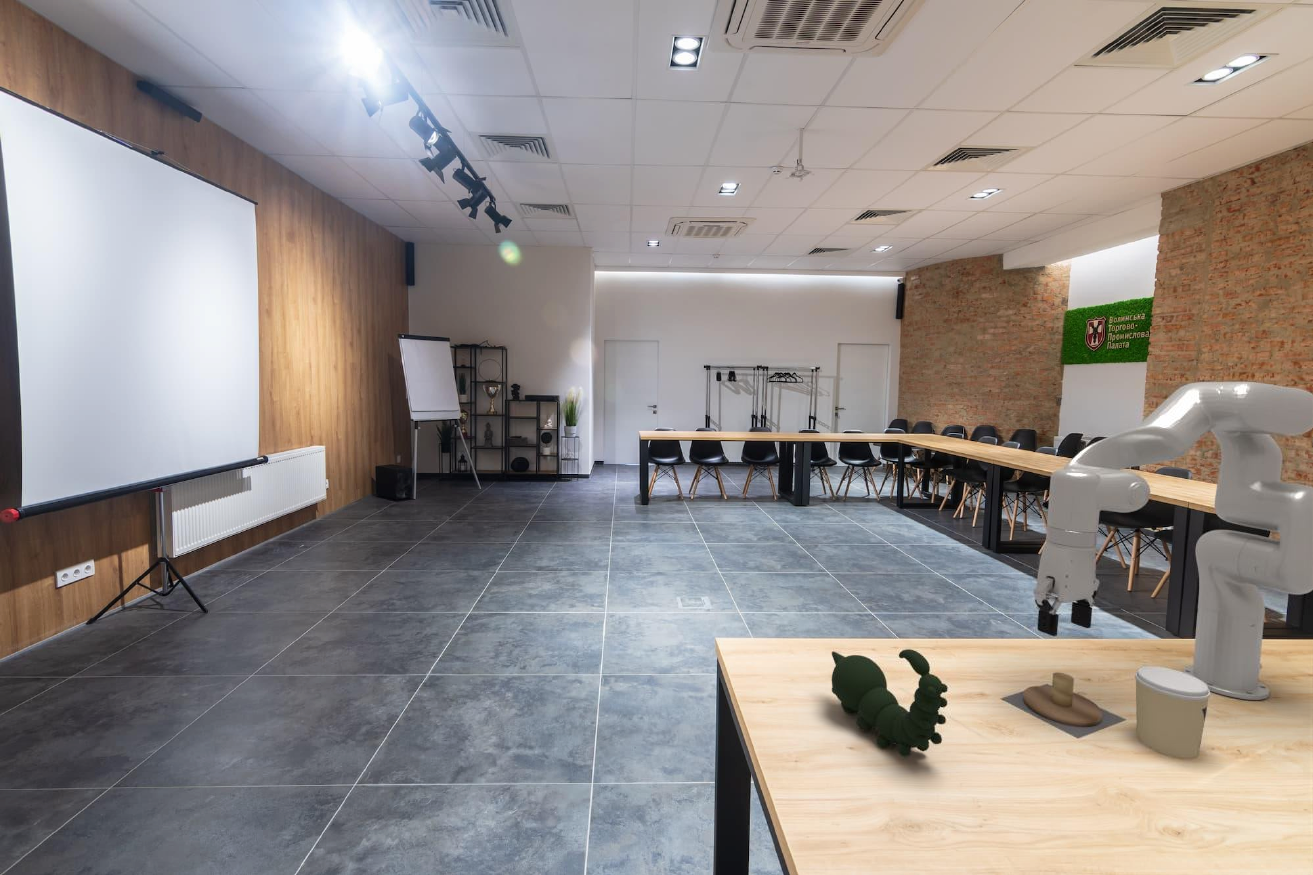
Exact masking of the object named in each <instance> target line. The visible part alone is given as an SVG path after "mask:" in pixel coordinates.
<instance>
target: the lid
mask: <svg viewBox="0 0 1313 875" xmlns="http://www.w3.org/2000/svg"><path fill="white" fill-rule="evenodd" d="M1074 682H1075V678H1074V677H1073V676H1072V675H1070V674H1067V673H1064V672H1058V671H1057V672H1053V673H1052V683H1051V686H1052V687H1047V686H1042V685H1036V686H1030V687H1028V688H1025V689H1024V690H1023V691H1024V694H1023V701H1024V703H1025V705H1026V706H1027V707H1028V708H1029V709H1030V710H1032V711H1033V712H1035V713H1036V714H1038V715H1040V716H1042V717H1044V718H1046V719H1049V720H1051V721H1054V722H1057V723H1060V724H1064V725H1069V726H1075V727H1094V726H1097V725H1099V724H1100V723H1101V721H1102V711H1101V709H1100V708H1101V707H1099V706H1098V705H1097V704H1096V703H1095V702H1094V701H1092V700H1090V699H1089V698H1087V697H1086V696H1082V695H1081V694H1078V693H1075V692H1074V685H1075V684H1074Z"/></svg>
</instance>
